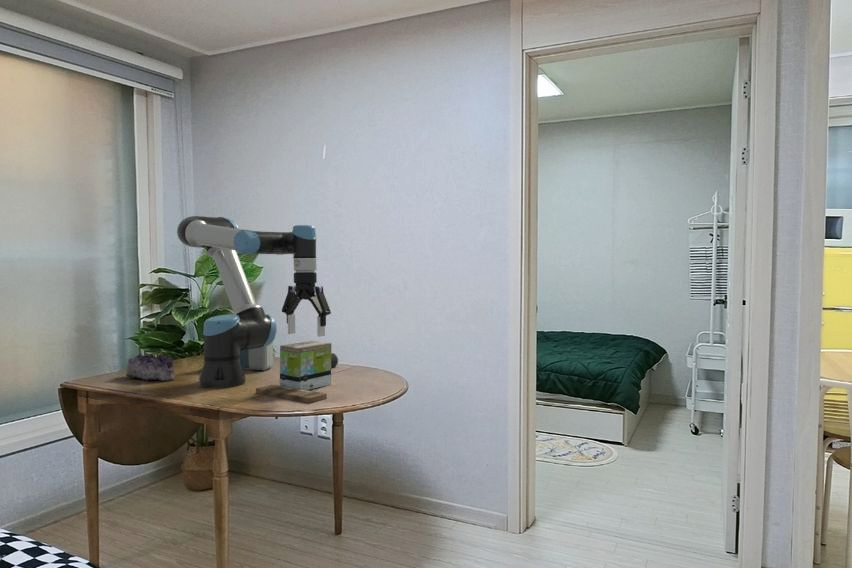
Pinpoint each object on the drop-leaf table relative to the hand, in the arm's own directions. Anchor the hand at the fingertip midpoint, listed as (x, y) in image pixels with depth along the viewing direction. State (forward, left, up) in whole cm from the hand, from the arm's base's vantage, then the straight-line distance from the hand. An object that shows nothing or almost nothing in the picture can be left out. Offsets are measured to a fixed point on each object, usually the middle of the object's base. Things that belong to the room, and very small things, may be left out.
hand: (306, 335), depth 199 cm
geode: (-57, -19, -18) cm, 63 cm away
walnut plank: (+5, -12, -18) cm, 22 cm away
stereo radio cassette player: (-43, +11, -18) cm, 48 cm away
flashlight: (-18, +26, -18) cm, 37 cm away
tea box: (0, 0, -18) cm, 18 cm away
